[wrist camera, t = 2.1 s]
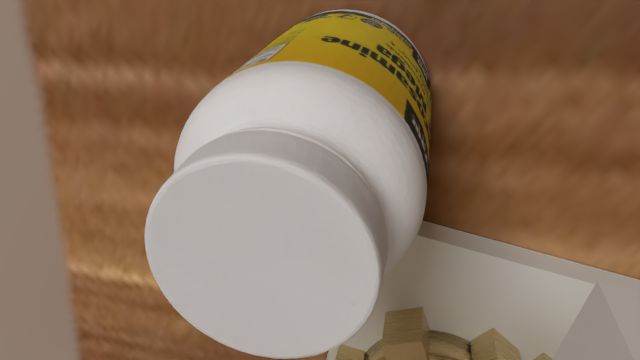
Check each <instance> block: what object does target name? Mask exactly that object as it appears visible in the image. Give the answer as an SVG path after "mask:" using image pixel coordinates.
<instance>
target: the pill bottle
mask: <svg viewBox="0 0 640 360" xmlns="http://www.w3.org/2000/svg"><path fill="white" fill-rule="evenodd" d="M431 103H432V97H431V87H430V80H429V76H428V72H427V69H426V66H425V63H424V61H423V59H422V57H421V55H420V53H419V51H418V50H417V48H416V47H415V45H414V44H413V43H412V41H411V40H410V39H409V38H408V37H407V36H406V35H405V34H404V33H403V32H402V31H401V30H399V29H398V28H397V27H396V26H394V25H393V24H391V23H390V22H388V21H387V20H385V19H383V18H381V17H378V16H376V15H373V14H370V13H367V12H363V11H357V10H332V11H326V12H323V13H319V14H316V15H314V16H311V17H309V18H306V19H305V20H303V21H301V22H299V23H297V24H296V25H294V26H293V27H291V28H290V29H288V30H287V31H286V32H285V33H283V34H282V35H281V36H280V37H278V38H277V39H276V40H274V41H273V42H272V43H271V44H269V45H268V46H267V47H266V48H265V49H263V50H262V51H261V52H259V53H258V54H257V55H256V56H254V57H253V58H252V59H250V60H249V61H248V62H247V63H246V64H244V65H243V66H242V67H240V68H239V69H238V70H236V71H235V72H234V73H233V74H231V75H230V76H228V77H227V78H226V79H224V80H223V81H222V82H221V83H219V84H218V85H217V86H216V87H214V88H213V89H212V90H211V91H210V92H209V93H208V94H207V95H206V96H205V97H204V99H203V100H202V101H201V102H200V103H199V104H198V105H197V107H196V108H195V109H194V111H193V112H192V114H191V115H190V117H189V119H188V120H187V122H186V124H185V126H184V128H183V131H182V133H181V135H180V139H179V142H178V145H177V149H176V154H175V161H174V173H173V175H172V176H171V177H170V178H169V179H168V180H167V181H166V182H165V183H164V185H163V186H162V187H161V188H160V190H159V191H158V193H157V194H156V196H155V198H154V200H153V201H152V204H151V206H150V209H149V212H148V215H147V219H146V226H145V248H146V254H147V259H148V263H149V266H150V269H151V271H152V274H153V276H154V278H155V280H156V282H157V284H158V285H159V287H160V289H161V290H162V292H163V294H164V295H165V297H166V298H167V299H168V301H169V302H170V303H171V305H172V306H173V307H174V308H175V309H176V310H177V311H178V312H179V313H180V315H181V316H182V317H184V318H185V319H186V320H187V321H188V322H189V323H191V324H192V325H193V326H194V327H196V328H197V329H198V330H200V331H201V332H203V333H204V334H206V335H208V336H209V337H211V338H213V339H214V340H216V341H218V342H220V343H222V344H224V345H226V346H228V347H231V348H234V349H236V350H239V351H242V352H245V353H248V354H252V355H255V356H262V357H268V358H275V359H288V358H303V357H310V356H314V355H318V354H321V353H324V352H326V351H329V350H331V349H333V348H336V347H337V346H339V345H341V344H343V343H344V342H346V341H347V340H349V339H350V338H352V337H353V336H354V335H355V334H356V333H357V332H358V331H359V330H360V329H361V328H362V327H363V326H364V324H365V323H366V322H367V320H368V319H369V317H370V315H371V314H372V312H373V310H374V308H375V306H376V303H377V301H378V298H379V294H380V290H381V285H382V281H383V277H384V276H385V275H386V274H388V273H389V272H390V271H391V270H392V269H393V268H394V267H395V266H396V265H397V264H398V263H399V262H400V261H401V260H402V259H403V257H404V256H405V255H406V253H407V252H408V250H409V249H410V247H411V246H412V244H413V242H414V240H415V238H416V236H417V234H418V232H419V229H420V226H421V223H422V220H423V216H424V212H425V206H426V199H427V188H428V175H429V153H430V151H429V149H430V127H431Z"/></svg>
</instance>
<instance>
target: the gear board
mask: <svg viewBox="0 0 640 360" xmlns="http://www.w3.org/2000/svg"><path fill="white" fill-rule="evenodd" d="M597 281H600V282H604V283H607V284H611V285H615V286H618V287H622V288H626V289H630V290H633V291H637V292H638V294H639V296H640V280H638V279H635V278H631V277H628V276H624V275H620V274H617V273H613V272H609V271H606V270H602V269H598V268H595V267H591V266H587V265H584V264H580V263H576V262H573V261H569V260H565V259H562V258H558V257H554V256H551V255H547V254H544V253H540V252H536V251H533V250H529V249H525V248H522V247H518V246H514V245H511V244H507V243H503V242H500V241H496V240H492V239H489V238H485V237H481V236H478V235H474V234H470V233H467V232H463V231H459V230H456V229H452V228H449V227H445V226H441V225H438V224H434V223H430V222H427V221H423V220H422V223H421V226H420V229H419V232H418V234H417V236H416V238H415V240H414V242H413V244H412V246H411V247H410V249H409V250H408V252H407V253H406V255H405V256H404V257H403V259H402V260H401V261H400V262H399V263H398V264H397V265H396V266H395V267H394V268H393V269H392V270H391V271H390V272H389V273H388V274H386V275H385V276H384V277H383V281H382V285H381V290H380V294H379V298H378V301H377V303H376V306H375V308H374V310H373V312H372V314H371V315H370V317H369V319H368V320H367V322H366V323H365V324H364V326H363V327H362V328H361V329H360V330H359V331H358V332H357V333H356V334H355V335H354V336H353V337H352V338H350V339H349V340H347V341H346V342H344V343H343V344H342V345H345V346H349V347H352V348H356V349H359V350H362V351H365V353H366V351H367V350H368V349H369V348H370V347H371V346H372V345H373V344H375V343H376V342H377V341H379V340H381V339H382V336H383V328H384V320H385V312H387V311H395V310H403V309H411V308H419V307H423V309H424V313H425V316H426V319H427V322H428V326H429V329H430V330H435V331H442V332H446V333H450V334H453V335H456V336H459V337H461V338H463V339H466V340H468V341H471V340H472V339H474V338H476V337H477V336H479V335H481V334H482V333H484V332H486V331H487V330H489V329H491V328H492V327H493V328H495V329H496V330H497V331H498V332H499V333H500V334H501V335H502V336H504V337H505V338H506V339H507V340H508V341H509V342H510V343H511V344H513V345H514V346H515V347H516V348H517V349H518V350H519V353H520V358H521V360H533V359H535V358H536V357H538V356H539V355H541V354H542V353H545V354H546V355H548V356H549V357H551V358H553V356H554V355H555V353H556V351H557V349H558V348H559V346H560V344H561V343H562V341H563V339H564V337H565V336H566V334H567V332H568V331H569V329H570V327H571V325H572V324H573V322H574V320H575V319H576V317H577V315H578V313H579V312H580V310H581V308H582V307H583V305H584V303H585V301H586V300H587V298H588V296H589V295H590V293H591V291H592V289H593V288H594V286H595V284H596V283H597ZM338 347H339V346H337V347H336V348H333V349H331V350H329V351H328V354H327V358H326V360H335V357H336V354H337V350H338Z"/></svg>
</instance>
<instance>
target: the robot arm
mask: <svg viewBox="0 0 640 360" xmlns="http://www.w3.org/2000/svg"><path fill="white" fill-rule="evenodd" d="M552 360H640V296H639V294H638V292H637V291H633V290H630V289H626V288H622V287H618V286H615V285H611V284H607V283H604V282H600V281H597V283H596V284H595V286H594V288H593V289H592V291H591V293H590V295H589V296H588V298H587V300H586V301H585V303H584V305H583V307H582V308H581V310H580V312H579V313H578V315H577V317H576V319H575V320H574V322H573V324H572V325H571V327H570V329H569V331H568V332H567V334H566V336H565V337H564V339H563V341H562V343H561V344H560V346H559V348H558V349H557V351H556V353H555V355H554V356H553V358H552Z"/></svg>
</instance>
